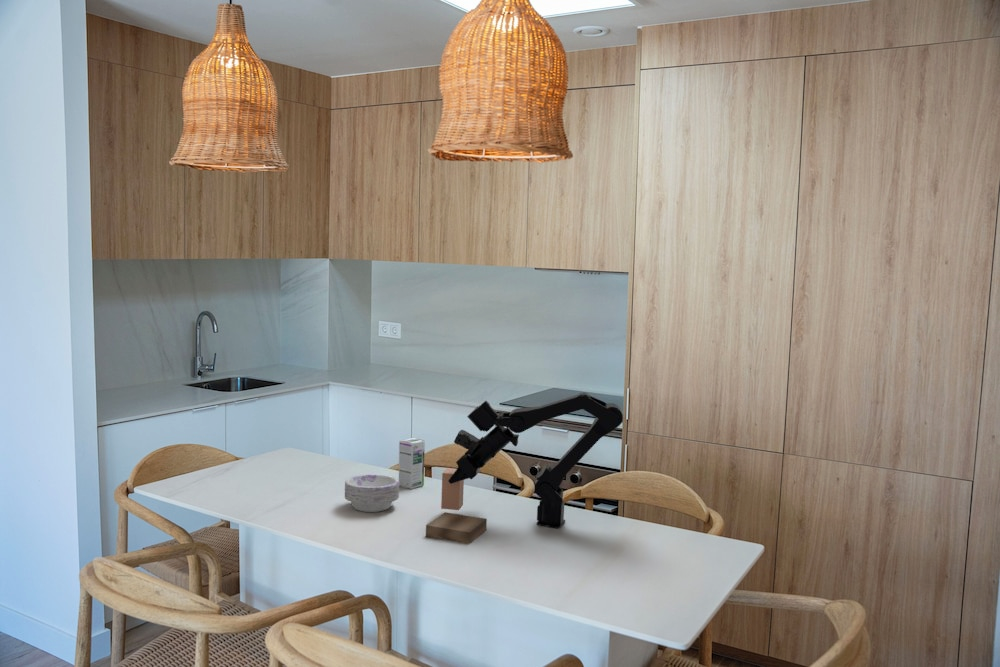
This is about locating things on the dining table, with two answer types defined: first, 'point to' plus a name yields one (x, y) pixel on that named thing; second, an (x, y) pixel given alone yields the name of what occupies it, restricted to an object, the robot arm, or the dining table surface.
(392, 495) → the paper bowls
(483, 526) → the walnut plinth
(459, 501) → the terracotta block
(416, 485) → the syrup box
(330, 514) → the dining table surface
